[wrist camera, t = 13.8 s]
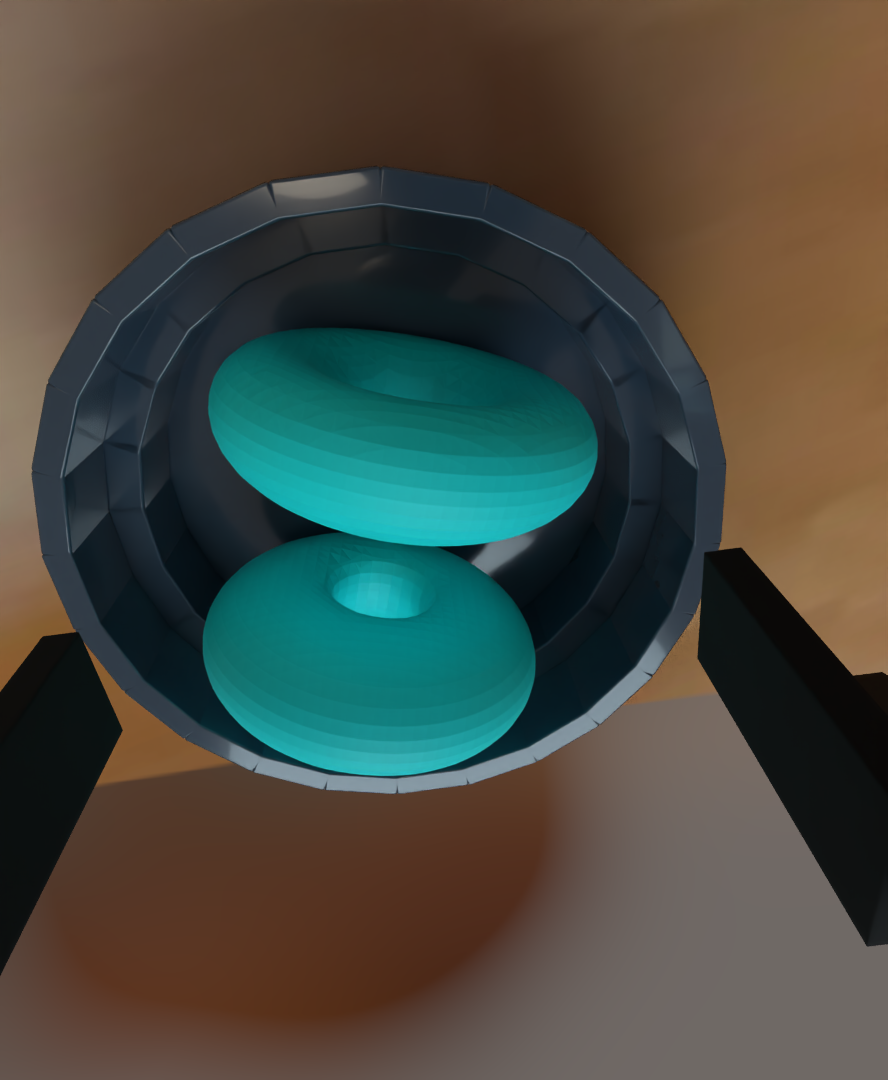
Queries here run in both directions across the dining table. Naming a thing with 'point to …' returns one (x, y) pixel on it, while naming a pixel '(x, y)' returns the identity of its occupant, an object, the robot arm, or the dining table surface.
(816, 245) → the dining table surface
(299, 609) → the donuts
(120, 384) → the bowl
